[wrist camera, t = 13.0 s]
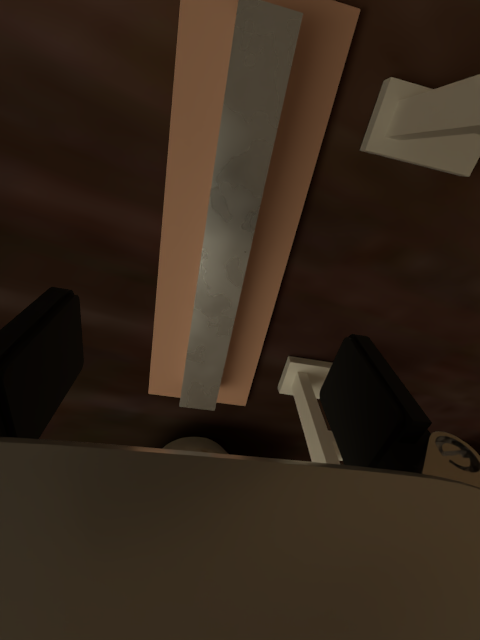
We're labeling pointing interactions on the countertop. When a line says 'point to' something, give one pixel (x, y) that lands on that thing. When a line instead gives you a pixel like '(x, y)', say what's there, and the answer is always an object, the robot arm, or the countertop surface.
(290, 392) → the shelf brackets
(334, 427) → the robot arm
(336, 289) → the countertop surface
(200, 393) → the steel rail
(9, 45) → the countertop surface
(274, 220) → the terracotta mat
